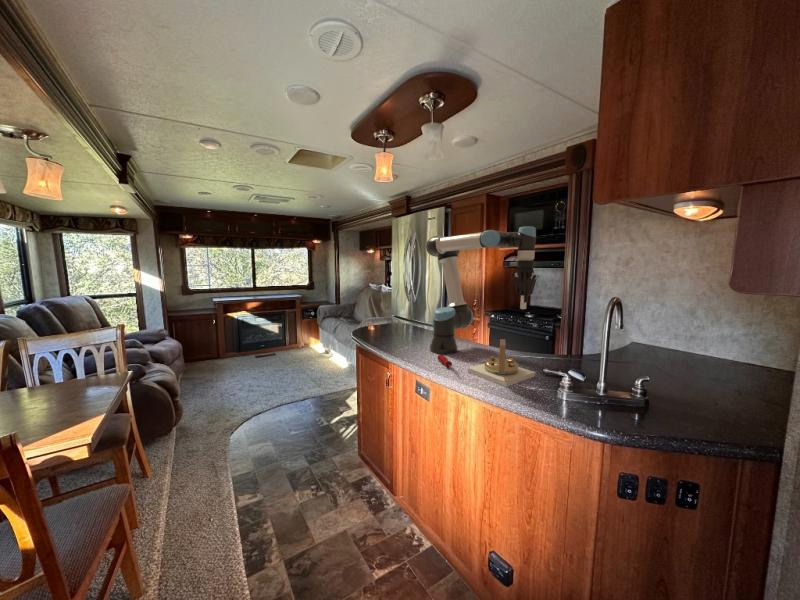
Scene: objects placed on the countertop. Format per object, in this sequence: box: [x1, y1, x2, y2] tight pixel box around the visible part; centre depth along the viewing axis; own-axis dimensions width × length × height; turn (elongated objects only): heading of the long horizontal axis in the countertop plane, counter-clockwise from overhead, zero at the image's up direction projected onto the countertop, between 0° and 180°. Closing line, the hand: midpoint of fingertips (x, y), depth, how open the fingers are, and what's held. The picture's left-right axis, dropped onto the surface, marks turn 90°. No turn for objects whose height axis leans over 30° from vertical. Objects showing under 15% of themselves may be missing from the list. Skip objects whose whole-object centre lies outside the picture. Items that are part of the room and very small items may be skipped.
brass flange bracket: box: [484, 338, 520, 375], centre depth 134 cm, size 22×14×15 cm, turn 162°
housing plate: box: [467, 362, 536, 388], centre depth 138 cm, size 20×20×2 cm
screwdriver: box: [437, 354, 461, 376], centre depth 146 cm, size 4×25×4 cm, turn 11°
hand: (523, 308), depth 153 cm, fingers closed
